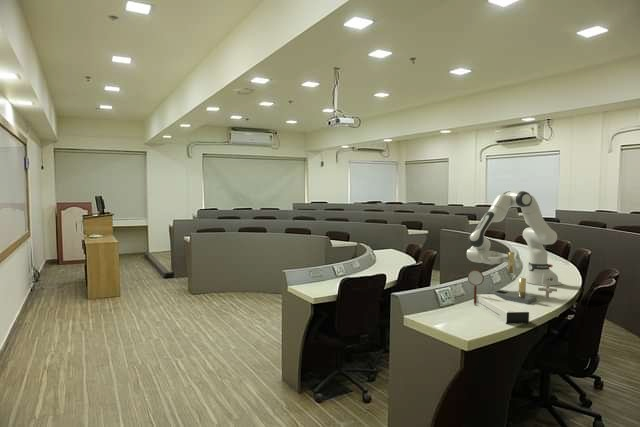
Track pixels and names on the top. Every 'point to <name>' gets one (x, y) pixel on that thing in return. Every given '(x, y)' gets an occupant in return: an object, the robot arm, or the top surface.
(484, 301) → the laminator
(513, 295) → the bolt plate
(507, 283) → the top surface
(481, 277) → the magnifying glass
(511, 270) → the brass pin
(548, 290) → the pipe connector
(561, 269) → the top surface
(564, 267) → the top surface
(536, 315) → the top surface
